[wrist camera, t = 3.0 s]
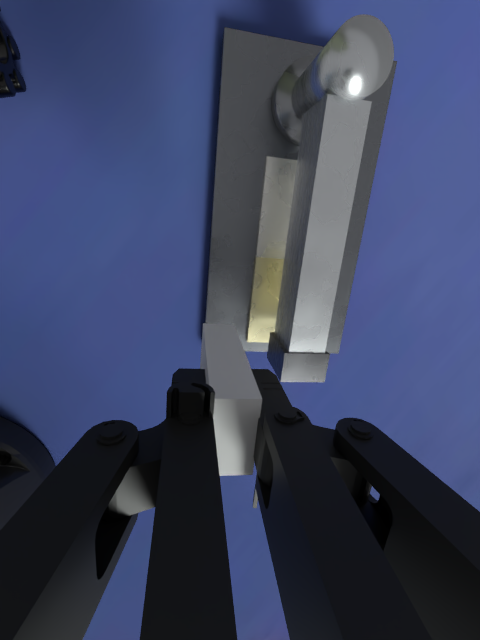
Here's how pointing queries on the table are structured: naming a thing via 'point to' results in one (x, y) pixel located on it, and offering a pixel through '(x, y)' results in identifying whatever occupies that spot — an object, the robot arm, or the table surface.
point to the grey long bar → (325, 190)
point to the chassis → (269, 185)
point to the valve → (9, 67)
